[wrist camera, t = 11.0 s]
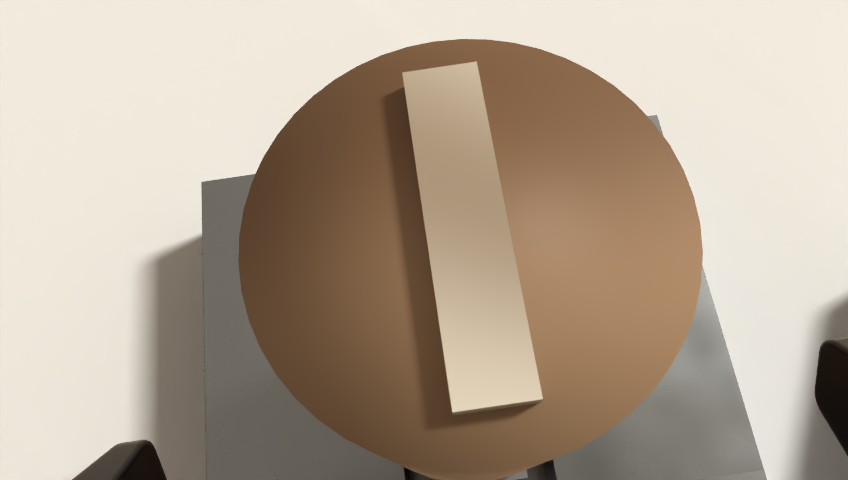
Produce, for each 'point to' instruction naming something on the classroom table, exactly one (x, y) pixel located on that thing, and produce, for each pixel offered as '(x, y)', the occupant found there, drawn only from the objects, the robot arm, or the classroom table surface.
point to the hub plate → (376, 476)
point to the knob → (470, 257)
